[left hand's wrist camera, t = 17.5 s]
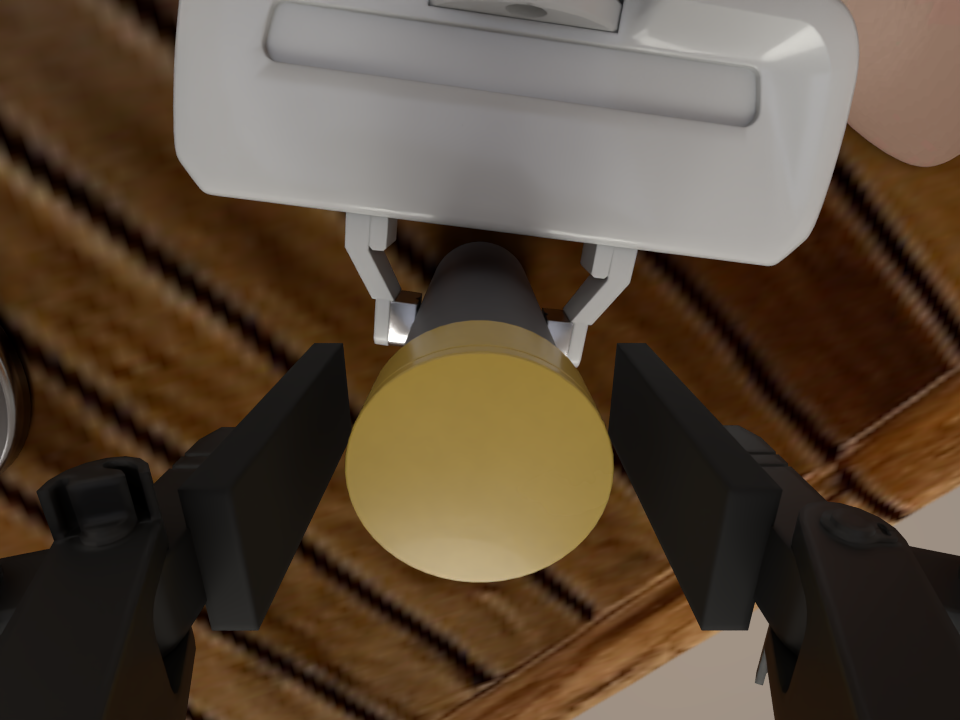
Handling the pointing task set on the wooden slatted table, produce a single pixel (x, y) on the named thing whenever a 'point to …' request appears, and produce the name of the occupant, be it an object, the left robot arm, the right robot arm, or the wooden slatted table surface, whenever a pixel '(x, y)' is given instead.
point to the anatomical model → (908, 78)
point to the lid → (479, 454)
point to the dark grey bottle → (479, 292)
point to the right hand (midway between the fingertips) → (477, 351)
